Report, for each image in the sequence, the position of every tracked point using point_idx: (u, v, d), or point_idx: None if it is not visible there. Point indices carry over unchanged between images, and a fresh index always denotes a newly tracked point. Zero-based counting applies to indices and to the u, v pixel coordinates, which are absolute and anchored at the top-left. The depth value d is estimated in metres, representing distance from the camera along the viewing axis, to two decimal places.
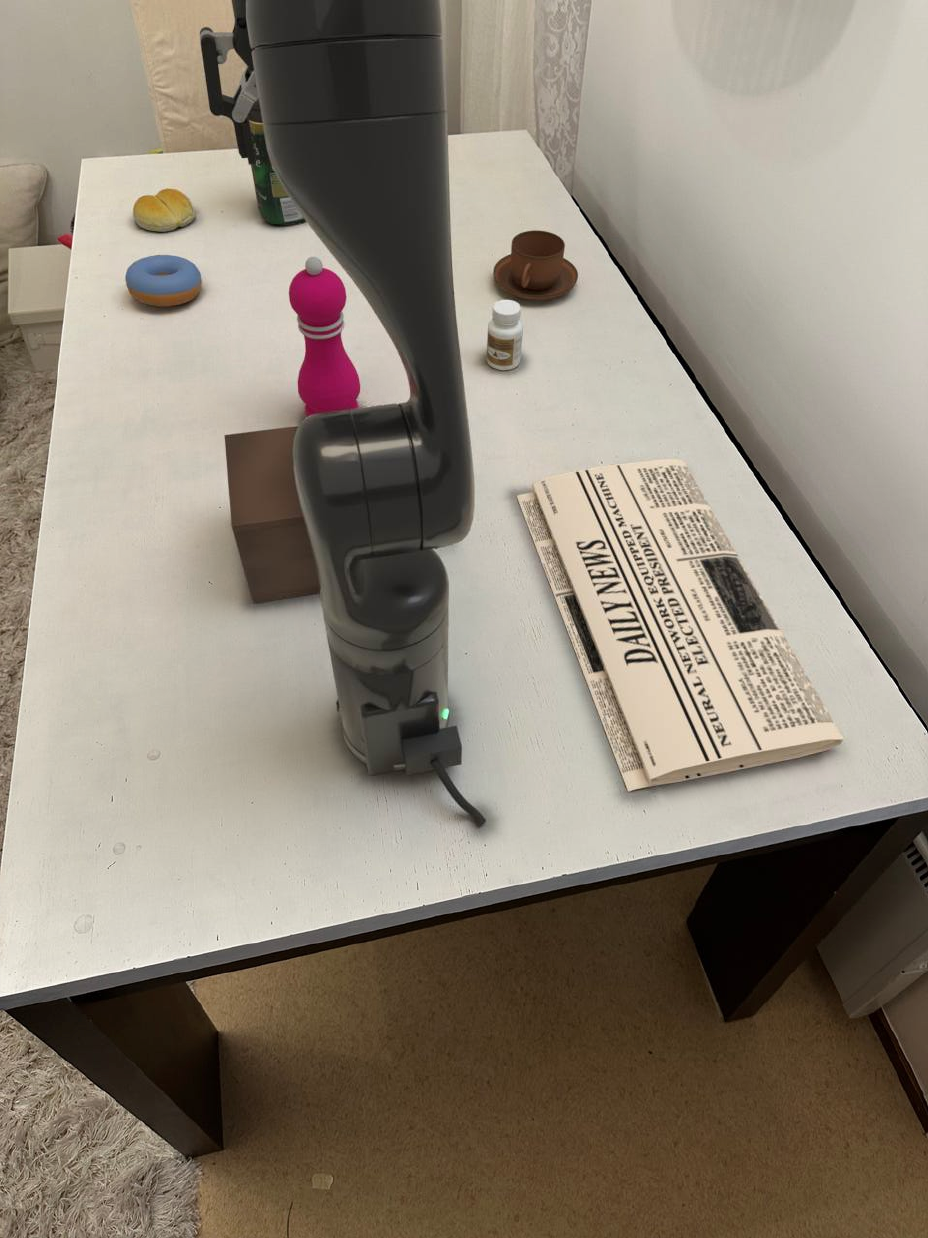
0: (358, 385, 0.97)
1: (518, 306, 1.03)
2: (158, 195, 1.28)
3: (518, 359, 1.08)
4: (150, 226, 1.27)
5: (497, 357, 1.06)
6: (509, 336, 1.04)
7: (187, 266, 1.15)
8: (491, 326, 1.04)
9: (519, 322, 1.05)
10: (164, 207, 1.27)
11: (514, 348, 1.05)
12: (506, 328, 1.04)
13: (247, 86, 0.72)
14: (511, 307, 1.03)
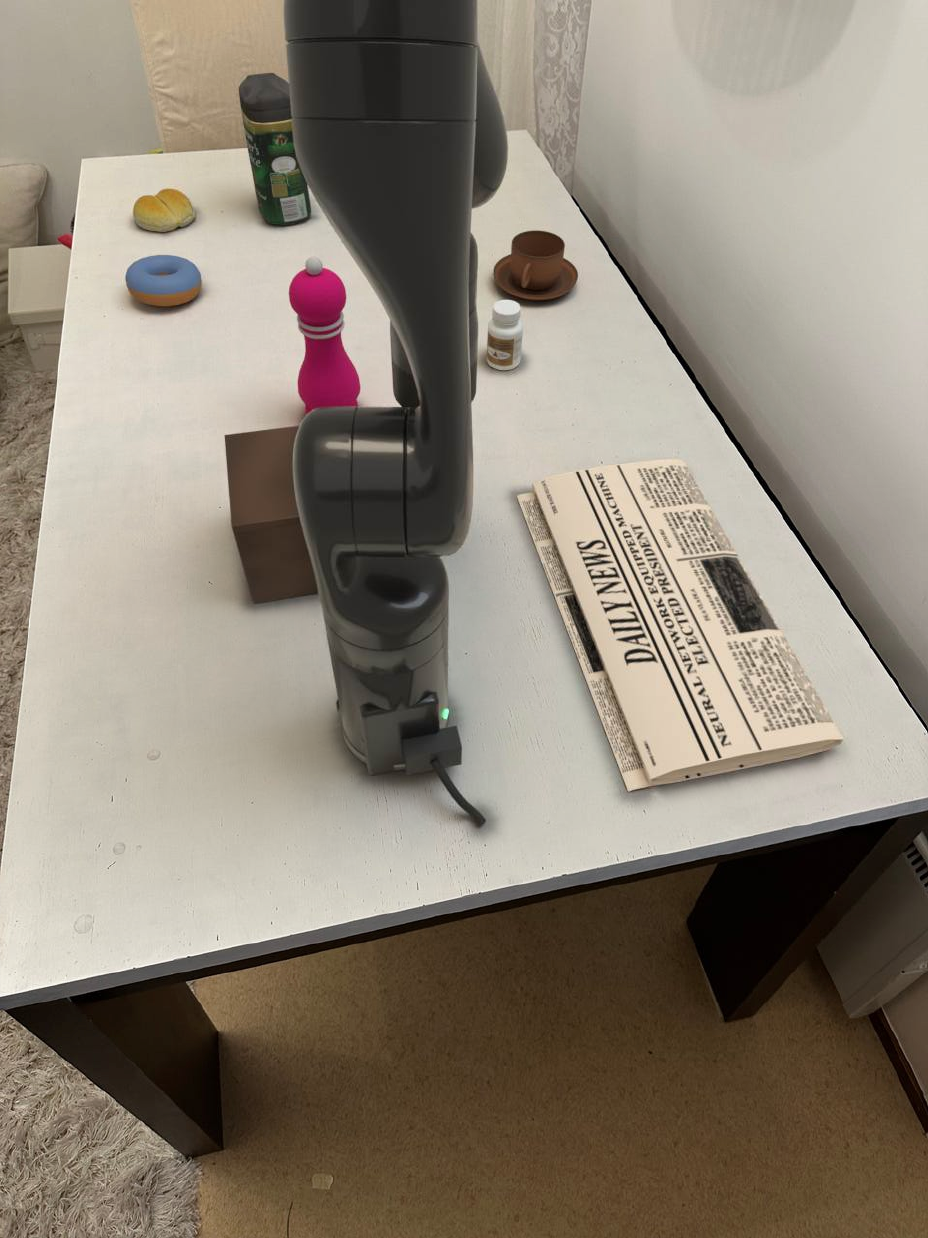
0: (358, 385, 0.97)
1: (518, 306, 1.03)
2: (158, 195, 1.28)
3: (518, 359, 1.08)
4: (150, 226, 1.27)
5: (497, 357, 1.06)
6: (509, 336, 1.04)
7: (187, 266, 1.15)
8: (491, 326, 1.04)
9: (519, 322, 1.05)
10: (164, 207, 1.27)
11: (514, 348, 1.05)
12: (506, 328, 1.04)
13: None
14: (511, 307, 1.03)
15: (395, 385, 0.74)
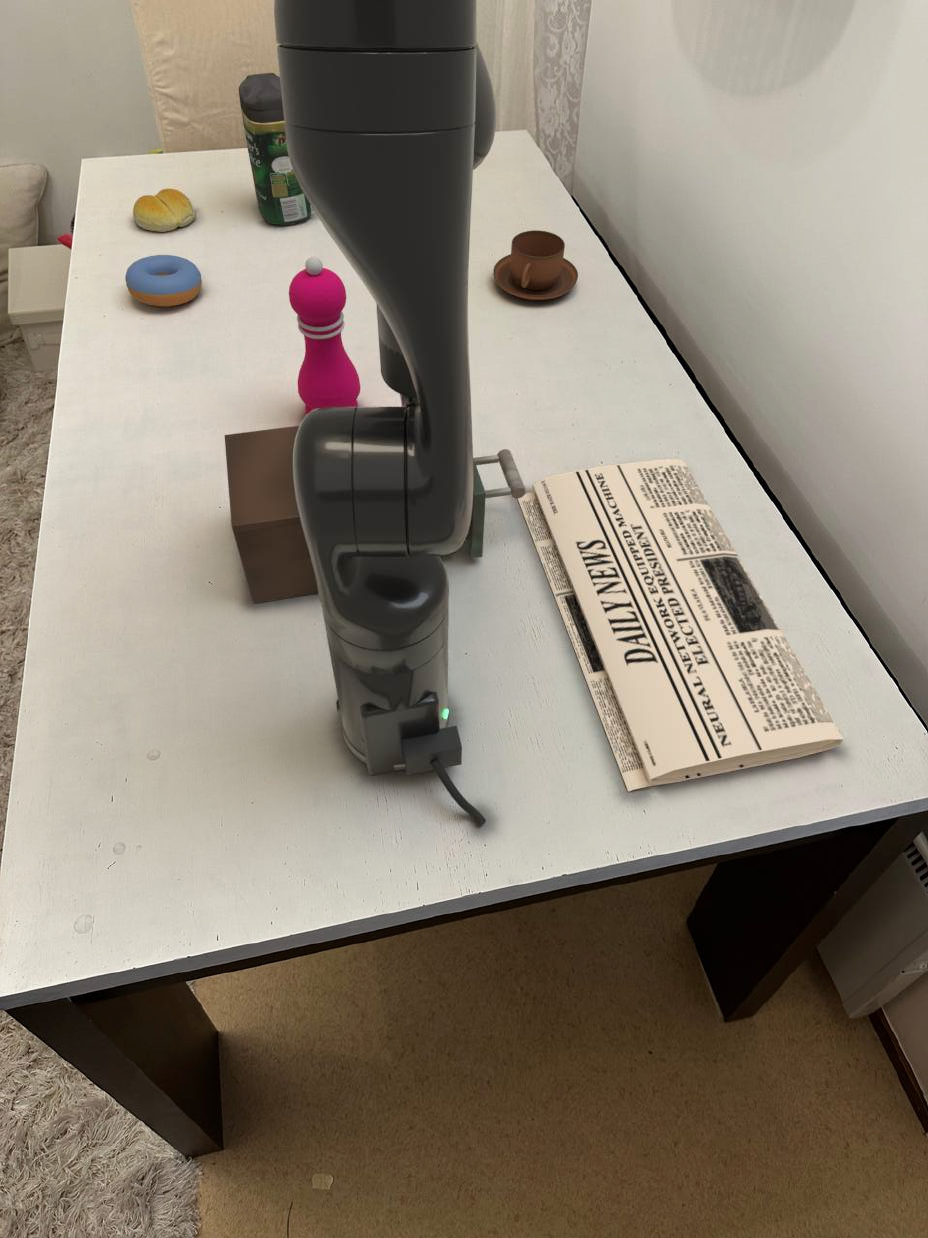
0: (358, 385, 0.97)
1: None
2: (158, 195, 1.28)
3: None
4: (150, 226, 1.27)
5: None
6: None
7: (187, 266, 1.15)
8: None
9: None
10: (164, 207, 1.27)
11: None
12: None
13: None
14: None
15: (382, 364, 0.72)
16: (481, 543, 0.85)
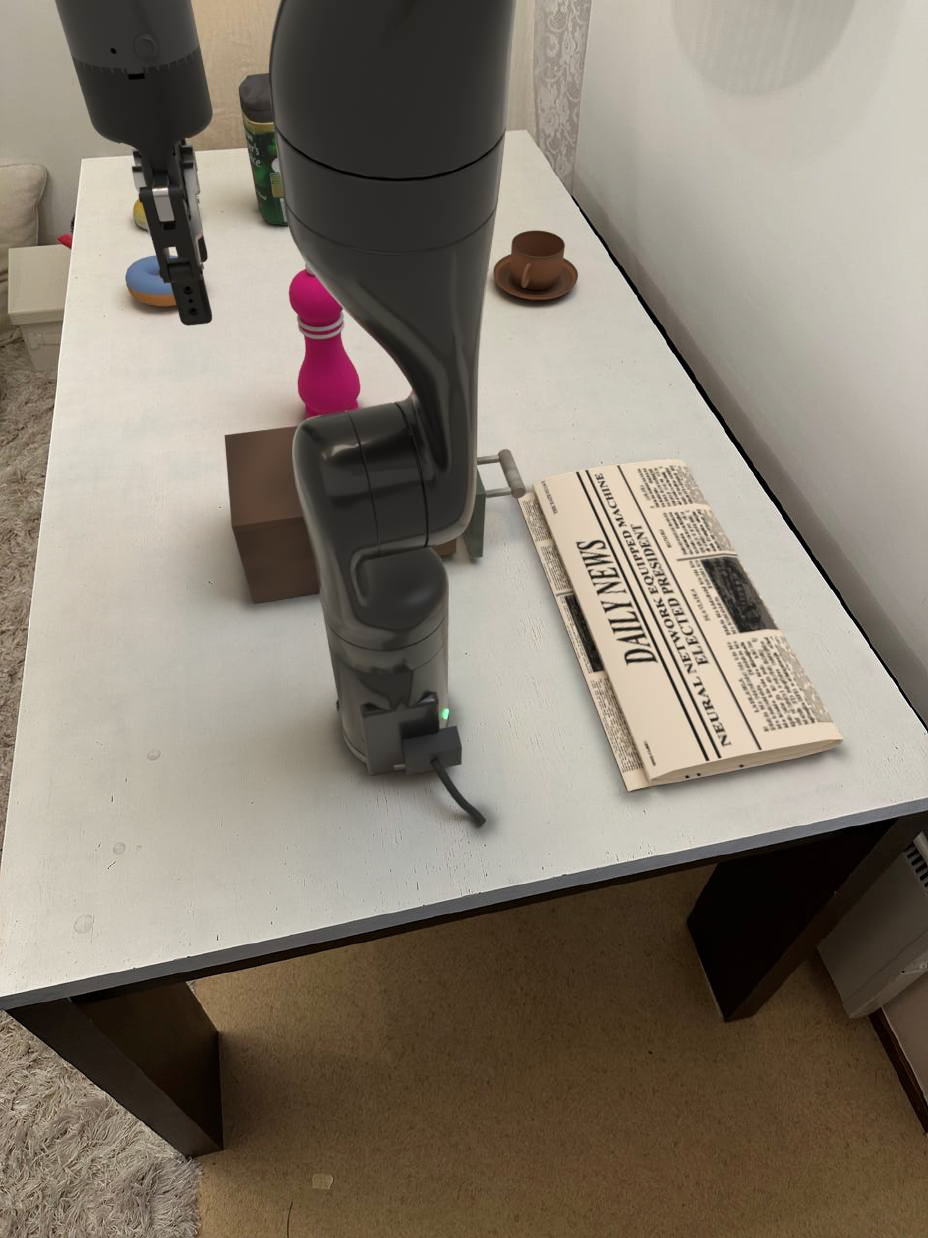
0: (358, 385, 0.97)
1: None
2: None
3: None
4: None
5: None
6: None
7: None
8: None
9: None
10: None
11: None
12: None
13: None
14: None
15: None
16: (481, 543, 0.85)
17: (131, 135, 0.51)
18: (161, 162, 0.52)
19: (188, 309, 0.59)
